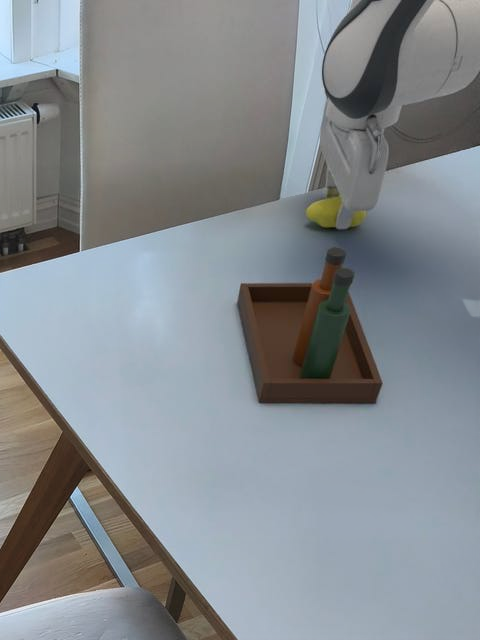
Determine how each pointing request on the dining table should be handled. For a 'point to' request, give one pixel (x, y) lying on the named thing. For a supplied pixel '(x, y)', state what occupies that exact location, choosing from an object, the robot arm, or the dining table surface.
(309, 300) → the amber bottle
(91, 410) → the dining table surface
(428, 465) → the dining table surface
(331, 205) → the lemon
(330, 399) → the tray
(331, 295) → the green bottle
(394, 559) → the dining table surface
